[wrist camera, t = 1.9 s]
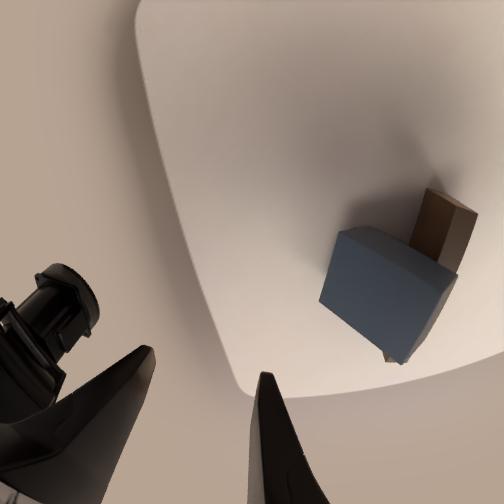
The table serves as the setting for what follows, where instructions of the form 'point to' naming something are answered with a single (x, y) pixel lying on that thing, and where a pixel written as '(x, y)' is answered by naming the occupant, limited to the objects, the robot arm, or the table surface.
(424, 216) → the walnut rail
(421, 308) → the slate block
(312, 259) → the table surface
